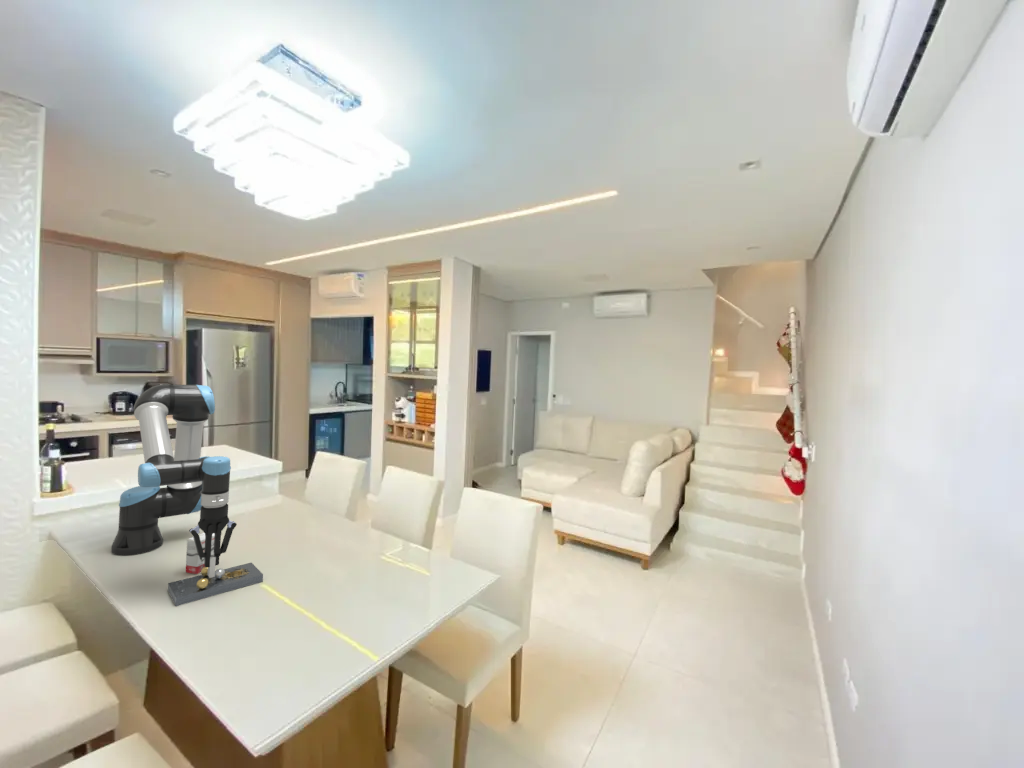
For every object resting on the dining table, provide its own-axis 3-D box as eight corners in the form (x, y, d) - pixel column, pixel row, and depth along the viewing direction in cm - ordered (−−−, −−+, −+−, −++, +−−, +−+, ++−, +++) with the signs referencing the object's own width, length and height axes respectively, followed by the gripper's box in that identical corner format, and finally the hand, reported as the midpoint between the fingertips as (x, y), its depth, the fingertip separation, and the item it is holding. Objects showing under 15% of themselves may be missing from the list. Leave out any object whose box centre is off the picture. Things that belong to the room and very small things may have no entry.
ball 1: (199, 575, 146) (200, 566, 146) (210, 572, 148) (211, 563, 148) (202, 578, 144) (202, 569, 144) (213, 576, 146) (213, 566, 146)
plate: (175, 606, 132) (176, 598, 132) (167, 590, 140) (168, 583, 140) (262, 581, 149) (263, 574, 149) (251, 569, 157) (251, 562, 157)
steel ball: (225, 570, 147) (216, 578, 146) (219, 565, 146) (210, 573, 144) (228, 574, 145) (219, 582, 143) (221, 568, 144) (212, 576, 142)
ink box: (196, 575, 151) (198, 541, 151) (184, 572, 152) (186, 539, 152) (217, 564, 159) (219, 532, 159) (206, 562, 160) (208, 530, 160)
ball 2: (195, 588, 138) (195, 578, 138) (207, 584, 140) (207, 575, 140) (197, 592, 136) (198, 581, 136) (209, 588, 138) (210, 578, 138)
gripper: (193, 511, 135) (189, 586, 136) (240, 504, 145) (237, 574, 145) (187, 505, 140) (184, 577, 141) (234, 498, 150) (230, 566, 150)
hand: (211, 575), depth 143 cm, fingers closed
